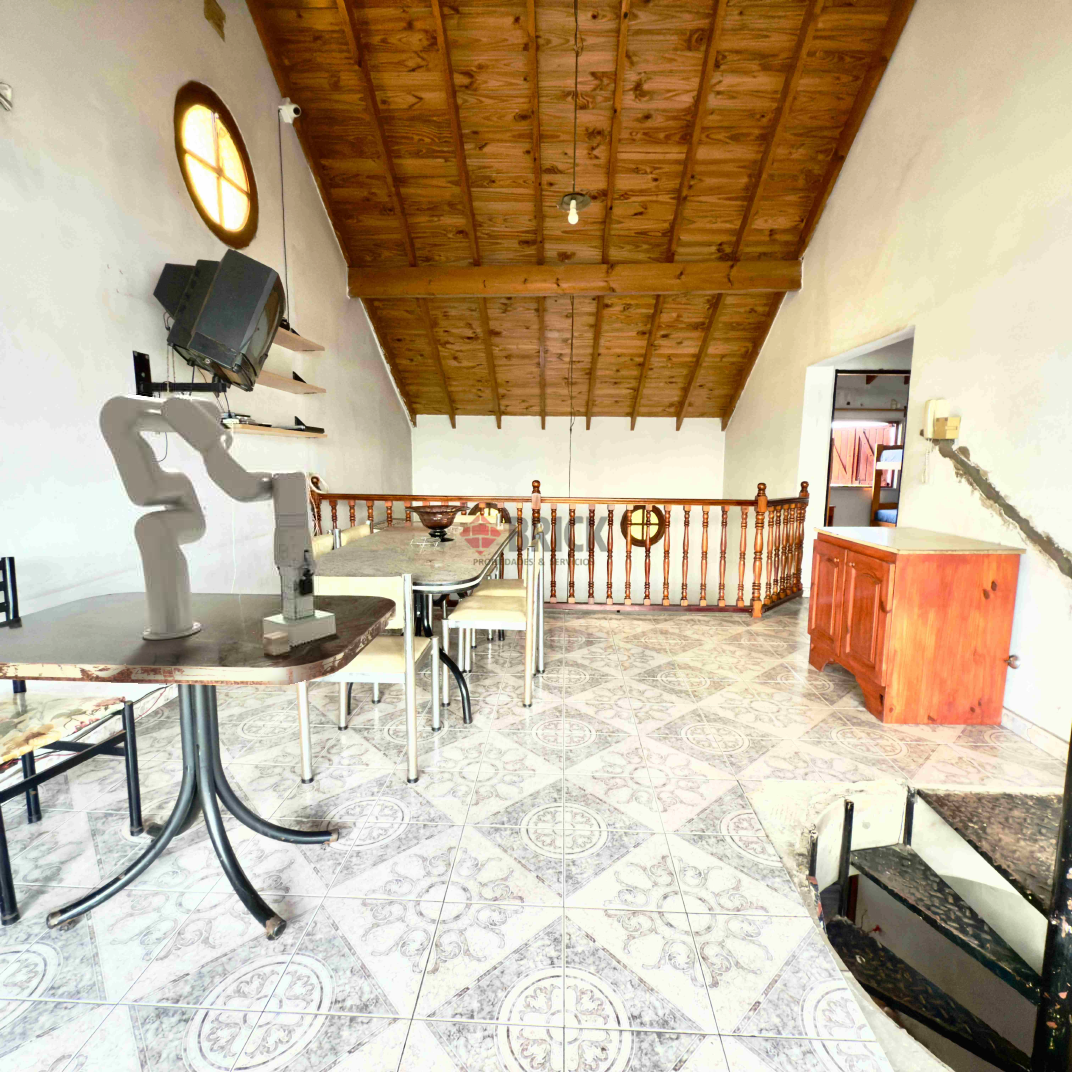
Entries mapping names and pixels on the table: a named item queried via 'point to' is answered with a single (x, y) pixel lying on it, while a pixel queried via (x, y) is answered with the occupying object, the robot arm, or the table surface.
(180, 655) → the table surface
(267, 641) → the ash block
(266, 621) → the podium
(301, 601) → the syrup box
